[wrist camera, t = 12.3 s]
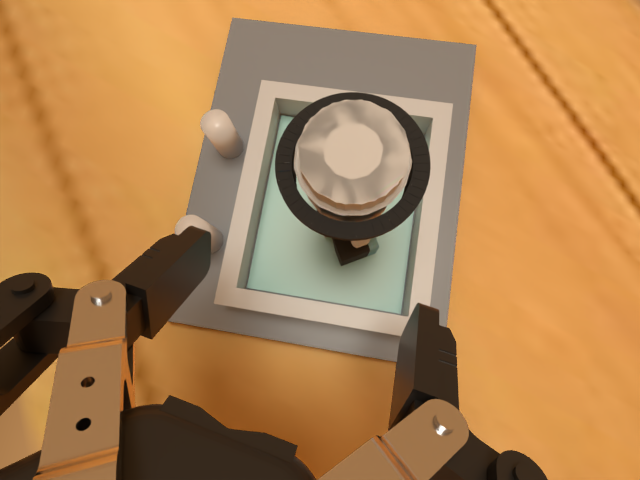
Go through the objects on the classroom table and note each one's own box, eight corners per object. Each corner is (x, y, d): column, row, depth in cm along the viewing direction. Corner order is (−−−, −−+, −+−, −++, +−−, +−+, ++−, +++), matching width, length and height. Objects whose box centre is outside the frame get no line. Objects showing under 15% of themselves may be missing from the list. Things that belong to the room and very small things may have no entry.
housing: (168, 319, 22) (132, 321, 18) (236, 28, 26) (218, -22, 22) (437, 367, 21) (460, 380, 17) (470, 55, 24) (496, 6, 20)
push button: (280, 177, 22) (235, 74, 12) (363, 146, 22) (382, 20, 12) (319, 281, 21) (303, 258, 11) (406, 248, 21) (467, 196, 11)
